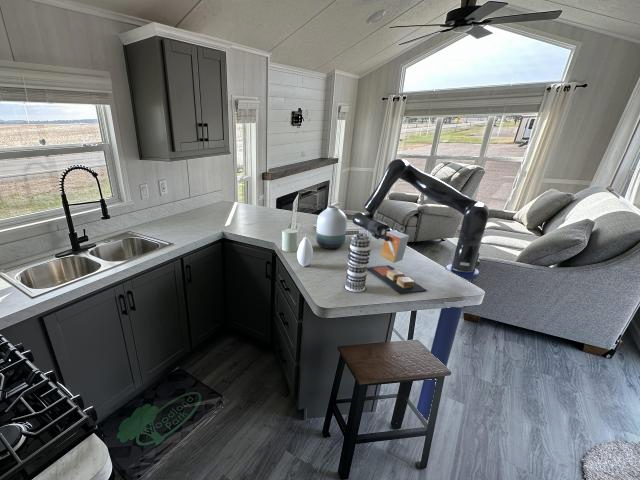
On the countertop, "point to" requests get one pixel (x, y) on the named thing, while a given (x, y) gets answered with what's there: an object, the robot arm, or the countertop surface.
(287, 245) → the can
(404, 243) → the small box
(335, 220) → the vase
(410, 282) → the letter block
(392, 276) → the block
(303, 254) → the white teardrop ornament
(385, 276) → the word mat
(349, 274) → the decorative candle
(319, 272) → the countertop surface
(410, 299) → the countertop surface
